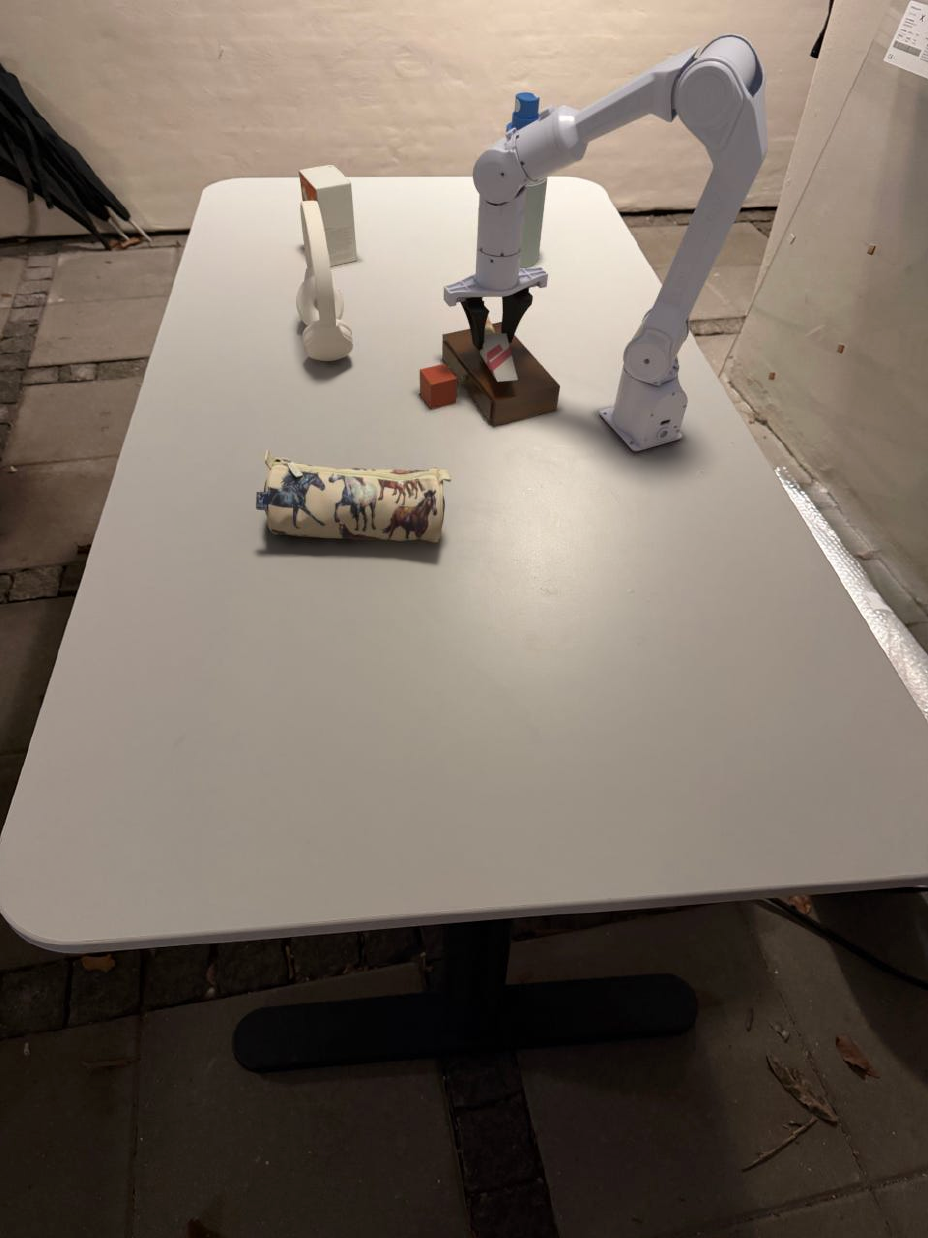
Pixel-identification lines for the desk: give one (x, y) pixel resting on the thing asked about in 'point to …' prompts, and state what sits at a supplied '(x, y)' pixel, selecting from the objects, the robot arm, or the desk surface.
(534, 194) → the spray bottle
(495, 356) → the paintbrush
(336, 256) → the small box
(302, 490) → the pencil case
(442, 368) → the block
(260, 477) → the desk surface
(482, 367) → the cabinet
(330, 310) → the headphones
